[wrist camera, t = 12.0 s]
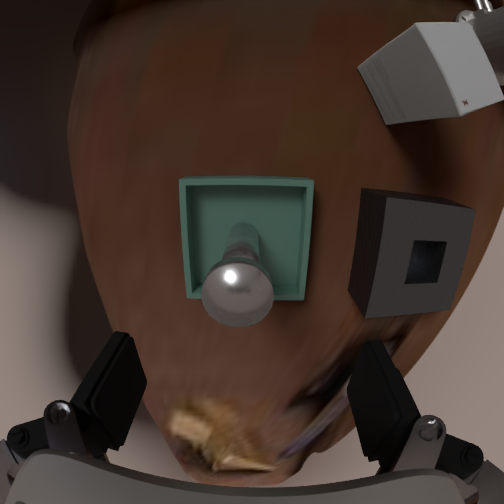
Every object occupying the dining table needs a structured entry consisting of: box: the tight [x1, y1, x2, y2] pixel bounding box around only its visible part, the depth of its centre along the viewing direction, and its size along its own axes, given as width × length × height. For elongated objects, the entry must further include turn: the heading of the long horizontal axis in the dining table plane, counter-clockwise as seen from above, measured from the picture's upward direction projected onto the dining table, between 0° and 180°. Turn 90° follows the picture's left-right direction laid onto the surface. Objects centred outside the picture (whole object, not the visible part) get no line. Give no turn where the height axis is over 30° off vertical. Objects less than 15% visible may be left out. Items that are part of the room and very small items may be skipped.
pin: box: [201, 223, 274, 327], centre depth 22 cm, size 4×4×12 cm
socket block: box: [348, 188, 475, 318], centre depth 26 cm, size 12×12×6 cm
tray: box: [179, 176, 314, 300], centre depth 27 cm, size 12×12×3 cm
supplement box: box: [357, 22, 504, 125], centre depth 16 cm, size 7×7×13 cm
